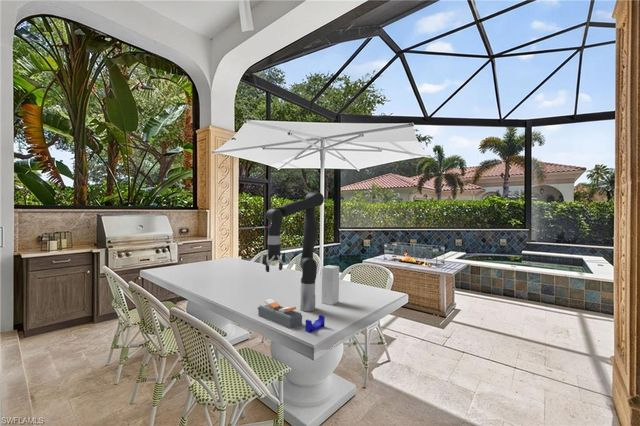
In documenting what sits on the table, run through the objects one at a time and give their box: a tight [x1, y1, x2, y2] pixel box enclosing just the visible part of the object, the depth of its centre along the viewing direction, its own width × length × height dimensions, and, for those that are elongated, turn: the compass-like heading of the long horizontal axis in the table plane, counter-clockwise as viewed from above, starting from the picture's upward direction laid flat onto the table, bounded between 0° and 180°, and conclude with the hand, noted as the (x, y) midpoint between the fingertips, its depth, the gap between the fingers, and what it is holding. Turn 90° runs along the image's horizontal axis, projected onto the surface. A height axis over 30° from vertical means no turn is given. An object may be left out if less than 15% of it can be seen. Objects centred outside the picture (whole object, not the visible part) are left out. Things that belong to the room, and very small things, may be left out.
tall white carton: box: [321, 264, 340, 306], centre depth 210 cm, size 9×9×25 cm
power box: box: [257, 304, 303, 329], centre depth 178 cm, size 34×9×6 cm, turn 48°
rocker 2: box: [279, 306, 297, 311], centre depth 171 cm, size 9×5×1 cm, turn 48°
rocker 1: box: [263, 298, 281, 309], centre depth 180 cm, size 9×5×1 cm, turn 48°
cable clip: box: [304, 314, 326, 334], centre depth 164 cm, size 12×4×6 cm, turn 139°
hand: (274, 270), depth 177 cm, fingers open, 8 cm apart
